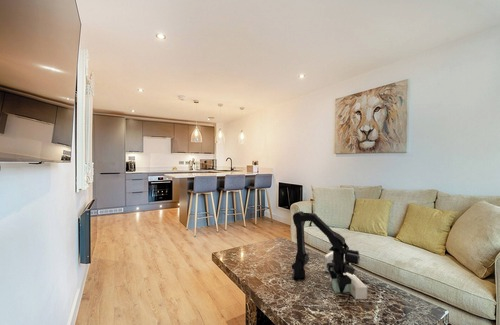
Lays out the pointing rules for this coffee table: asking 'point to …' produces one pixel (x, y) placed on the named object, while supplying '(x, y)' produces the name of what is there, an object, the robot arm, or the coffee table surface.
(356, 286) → the bar
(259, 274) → the coffee table surface
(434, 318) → the coffee table surface
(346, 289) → the charger
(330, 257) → the cable organizer
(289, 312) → the coffee table surface
